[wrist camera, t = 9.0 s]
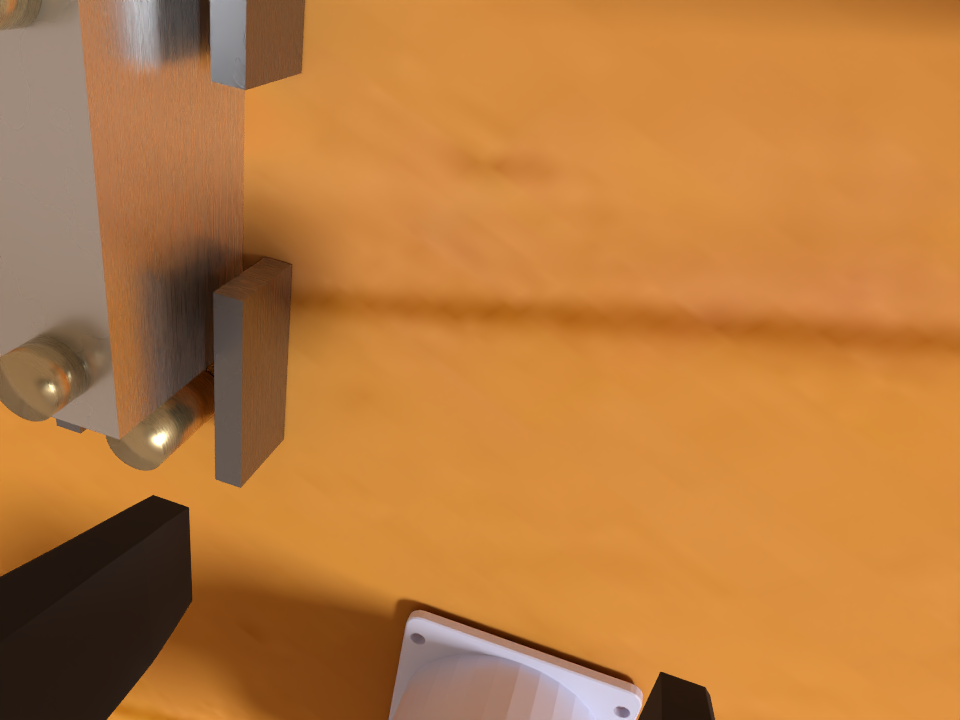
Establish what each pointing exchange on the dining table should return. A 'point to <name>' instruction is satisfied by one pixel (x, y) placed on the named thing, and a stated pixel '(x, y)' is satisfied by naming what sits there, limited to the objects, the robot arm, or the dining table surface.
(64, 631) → the robot arm
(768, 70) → the dining table surface
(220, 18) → the end link
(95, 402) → the block with brass knobs
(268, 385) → the end link
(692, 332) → the dining table surface
